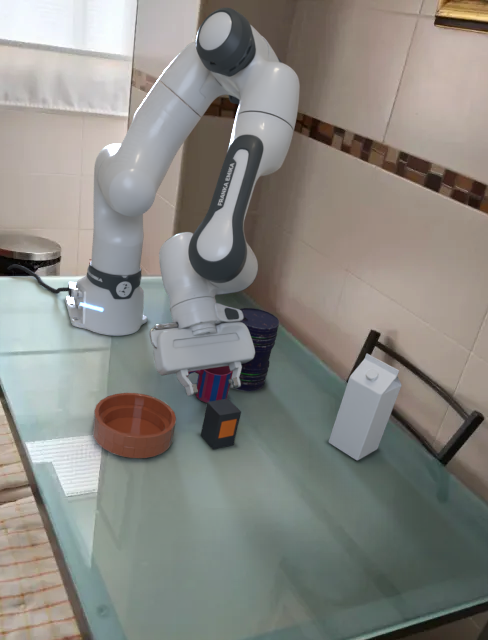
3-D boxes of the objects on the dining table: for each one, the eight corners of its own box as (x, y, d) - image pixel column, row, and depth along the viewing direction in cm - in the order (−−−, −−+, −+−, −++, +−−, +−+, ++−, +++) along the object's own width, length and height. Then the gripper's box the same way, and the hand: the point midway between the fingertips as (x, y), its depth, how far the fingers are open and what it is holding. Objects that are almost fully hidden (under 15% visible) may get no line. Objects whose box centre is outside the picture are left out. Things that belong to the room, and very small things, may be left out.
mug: (230, 404, 134) (236, 375, 130) (183, 404, 131) (188, 374, 127) (222, 387, 139) (227, 359, 136) (176, 386, 136) (181, 358, 133)
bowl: (81, 420, 120) (83, 397, 118) (152, 410, 127) (155, 388, 125) (109, 467, 110) (112, 443, 108) (185, 453, 117) (189, 430, 115)
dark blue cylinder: (252, 367, 149) (266, 307, 141) (272, 390, 142) (288, 327, 134) (213, 369, 145) (225, 308, 137) (231, 393, 138) (245, 329, 130)
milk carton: (348, 432, 133) (376, 349, 123) (377, 450, 129) (409, 366, 119) (327, 442, 128) (355, 357, 118) (357, 461, 124) (388, 375, 114)
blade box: (200, 435, 123) (207, 401, 119) (220, 431, 125) (228, 398, 121) (213, 449, 120) (220, 415, 116) (233, 445, 122) (241, 411, 118)
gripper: (154, 319, 115) (173, 395, 113) (249, 310, 125) (267, 379, 124) (140, 331, 120) (158, 403, 119) (232, 321, 130) (250, 387, 129)
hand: (214, 391), depth 121 cm, fingers open, 8 cm apart
